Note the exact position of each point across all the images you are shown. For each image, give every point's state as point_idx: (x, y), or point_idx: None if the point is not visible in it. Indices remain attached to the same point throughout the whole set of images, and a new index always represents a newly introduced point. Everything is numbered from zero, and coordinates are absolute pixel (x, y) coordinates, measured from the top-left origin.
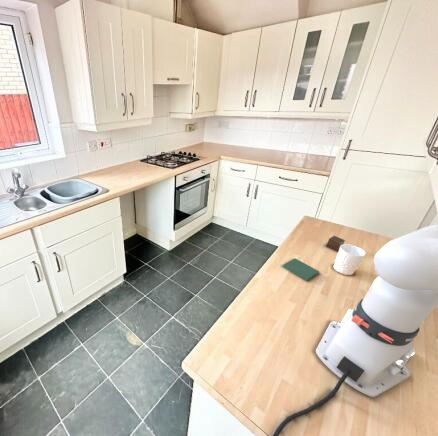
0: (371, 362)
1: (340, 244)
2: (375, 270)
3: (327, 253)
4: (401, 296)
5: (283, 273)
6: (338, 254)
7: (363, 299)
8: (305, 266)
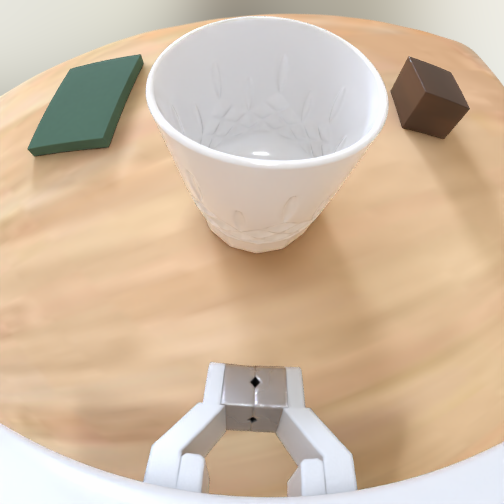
0: None
1: (431, 105)
2: (209, 365)
3: None
4: None
5: (39, 100)
6: (216, 79)
7: None
8: (103, 96)
